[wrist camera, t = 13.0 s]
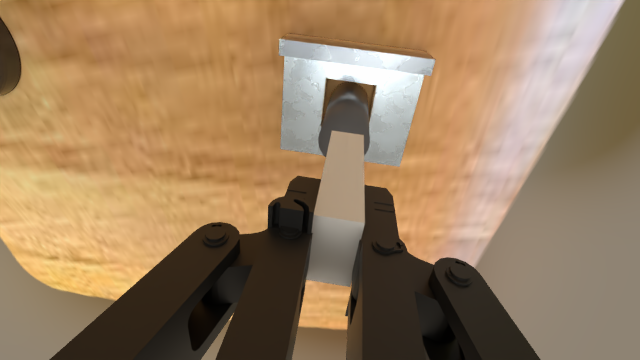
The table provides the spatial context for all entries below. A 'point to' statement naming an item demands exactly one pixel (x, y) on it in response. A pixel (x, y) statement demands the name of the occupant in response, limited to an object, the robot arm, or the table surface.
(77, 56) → the table surface
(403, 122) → the plate
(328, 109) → the dark grey round peg
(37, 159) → the table surface
